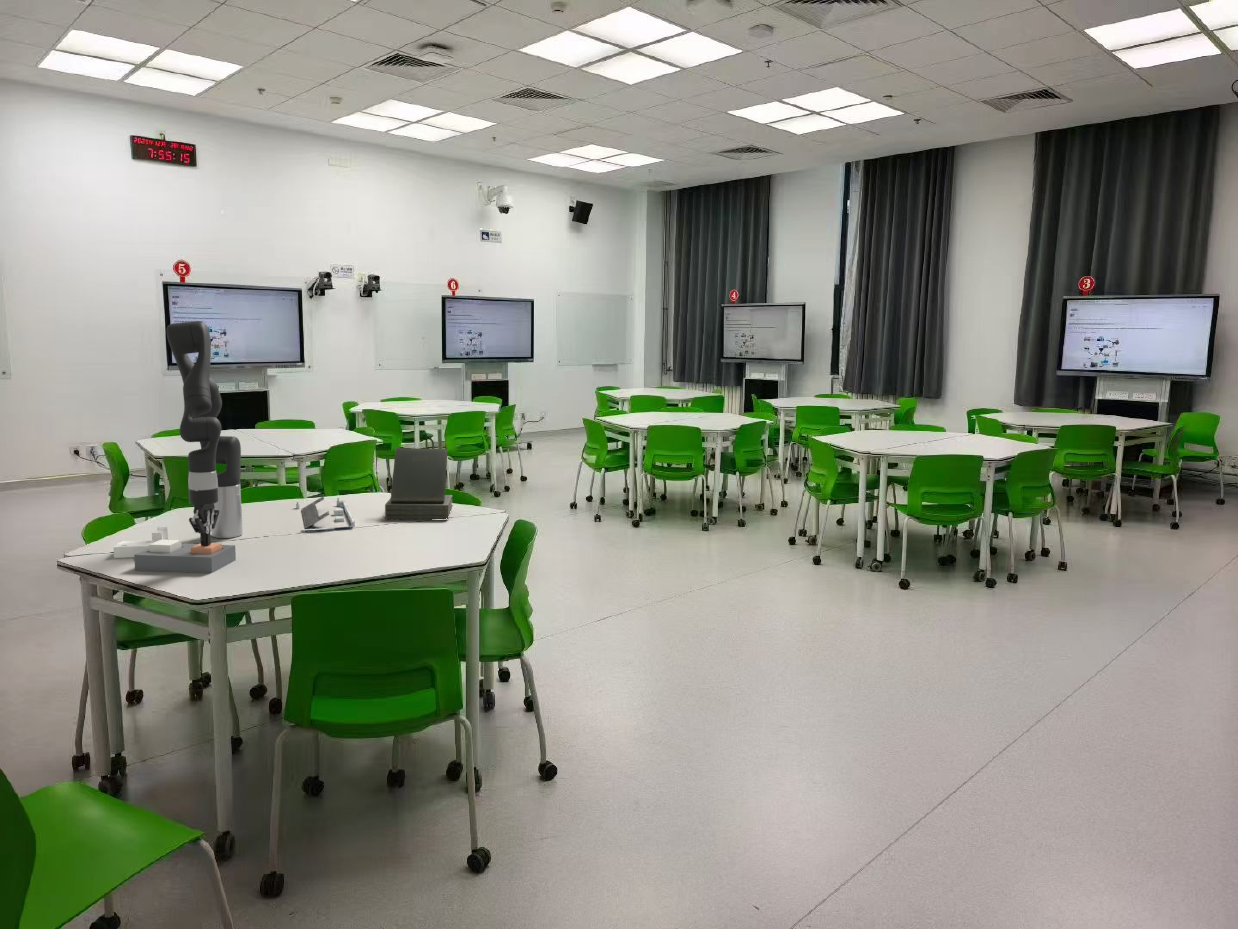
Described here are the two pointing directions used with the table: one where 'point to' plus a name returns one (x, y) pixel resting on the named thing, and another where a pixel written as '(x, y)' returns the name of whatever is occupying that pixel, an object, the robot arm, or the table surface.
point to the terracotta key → (206, 548)
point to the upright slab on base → (419, 485)
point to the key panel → (184, 560)
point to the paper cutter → (312, 515)
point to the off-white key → (165, 546)
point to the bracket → (138, 544)
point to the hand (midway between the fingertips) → (205, 545)
